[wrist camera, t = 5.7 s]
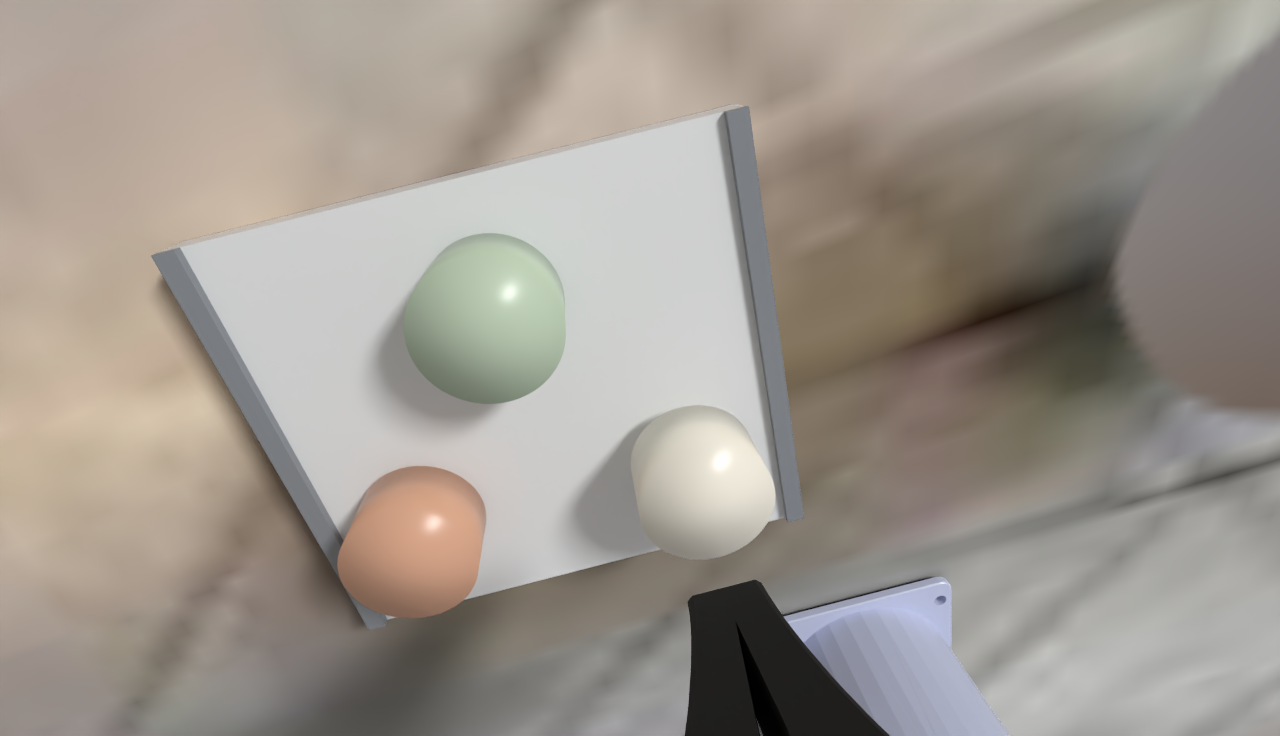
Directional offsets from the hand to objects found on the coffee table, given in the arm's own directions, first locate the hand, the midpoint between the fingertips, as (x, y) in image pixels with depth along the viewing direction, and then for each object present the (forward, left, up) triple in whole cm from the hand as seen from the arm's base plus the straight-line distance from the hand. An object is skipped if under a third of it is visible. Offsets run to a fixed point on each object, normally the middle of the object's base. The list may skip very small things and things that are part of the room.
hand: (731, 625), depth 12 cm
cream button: (-2, -1, -8) cm, 9 cm away
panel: (+1, +4, -10) cm, 11 cm away
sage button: (+4, +4, -9) cm, 11 cm away
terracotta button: (-2, +8, -9) cm, 13 cm away
